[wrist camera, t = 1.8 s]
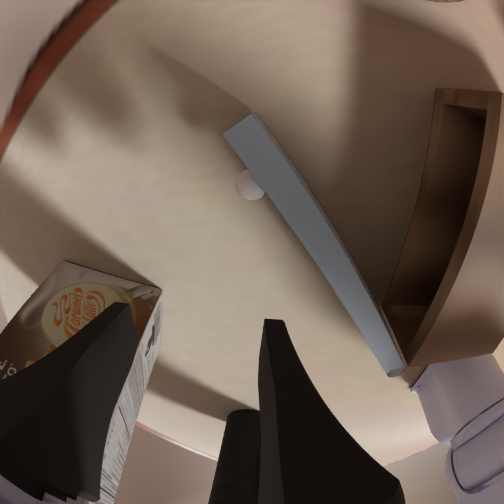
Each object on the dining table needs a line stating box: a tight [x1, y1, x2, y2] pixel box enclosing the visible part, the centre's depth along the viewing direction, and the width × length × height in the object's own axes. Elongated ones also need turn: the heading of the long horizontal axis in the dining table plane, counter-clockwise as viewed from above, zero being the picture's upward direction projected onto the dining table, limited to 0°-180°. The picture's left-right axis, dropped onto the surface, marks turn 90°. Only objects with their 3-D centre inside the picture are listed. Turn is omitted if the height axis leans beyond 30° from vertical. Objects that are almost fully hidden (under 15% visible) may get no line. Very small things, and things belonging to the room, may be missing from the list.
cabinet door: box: [222, 112, 405, 377], centre depth 14 cm, size 17×3×6 cm, turn 36°
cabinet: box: [382, 88, 504, 367], centre depth 13 cm, size 16×9×6 cm, turn 176°
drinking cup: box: [208, 410, 261, 504], centre depth 20 cm, size 8×8×20 cm
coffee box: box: [0, 261, 163, 504], centre depth 14 cm, size 9×6×16 cm
